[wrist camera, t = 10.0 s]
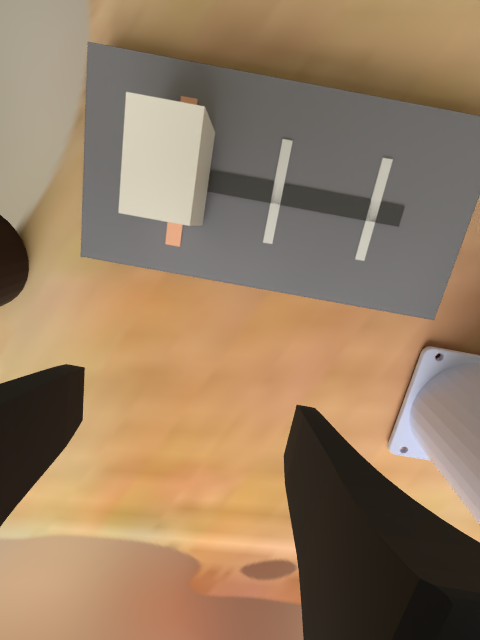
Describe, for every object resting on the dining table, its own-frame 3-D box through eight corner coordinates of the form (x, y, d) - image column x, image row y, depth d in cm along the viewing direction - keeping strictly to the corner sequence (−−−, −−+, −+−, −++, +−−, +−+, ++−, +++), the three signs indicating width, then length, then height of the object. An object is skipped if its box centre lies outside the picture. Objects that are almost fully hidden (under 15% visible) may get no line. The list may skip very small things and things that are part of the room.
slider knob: (215, 132, 16) (204, 106, 12) (202, 225, 17) (189, 225, 14) (153, 121, 16) (126, 91, 12) (145, 215, 17) (118, 212, 13)
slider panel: (478, 132, 17) (508, 120, 15) (416, 311, 20) (435, 320, 18) (106, 62, 17) (86, 40, 15) (97, 253, 20) (79, 256, 18)
